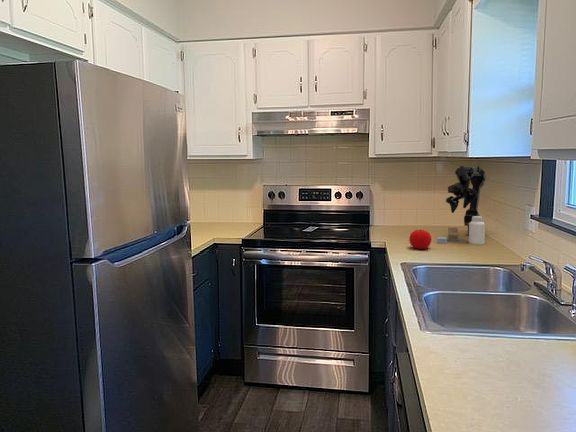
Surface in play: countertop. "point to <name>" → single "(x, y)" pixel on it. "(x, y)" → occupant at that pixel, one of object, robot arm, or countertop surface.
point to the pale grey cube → (441, 240)
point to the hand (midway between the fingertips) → (458, 210)
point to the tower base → (452, 237)
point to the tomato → (420, 239)
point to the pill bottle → (476, 230)
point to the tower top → (452, 231)
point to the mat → (456, 241)
